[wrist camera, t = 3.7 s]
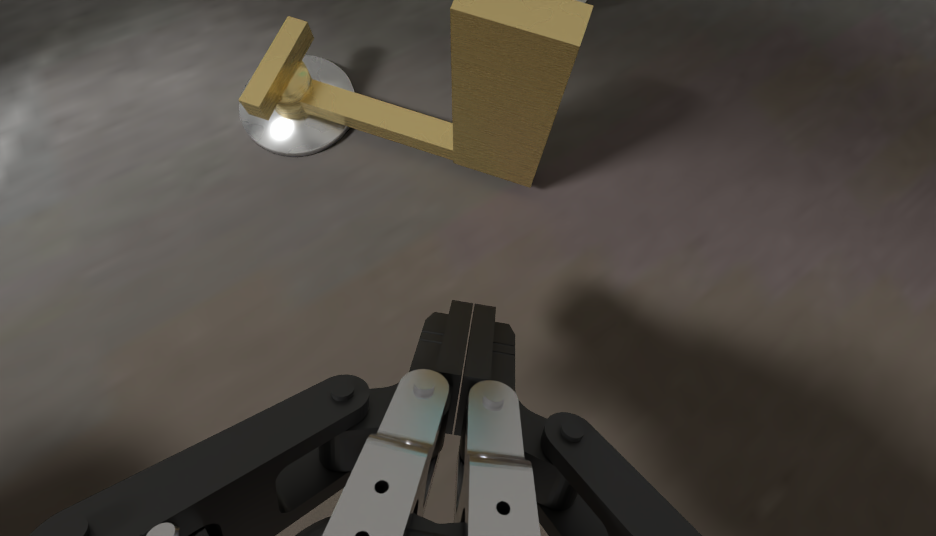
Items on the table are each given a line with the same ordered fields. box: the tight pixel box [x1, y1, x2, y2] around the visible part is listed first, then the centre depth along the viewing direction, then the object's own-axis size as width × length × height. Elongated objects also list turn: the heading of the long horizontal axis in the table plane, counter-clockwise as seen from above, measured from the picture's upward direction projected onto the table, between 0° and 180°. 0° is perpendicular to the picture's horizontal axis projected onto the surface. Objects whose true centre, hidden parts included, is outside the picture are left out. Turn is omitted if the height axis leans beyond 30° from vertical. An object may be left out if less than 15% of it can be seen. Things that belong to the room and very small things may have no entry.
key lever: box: [239, 0, 593, 187], centre depth 18 cm, size 14×5×9 cm, turn 71°
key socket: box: [239, 55, 354, 157], centre depth 23 cm, size 6×6×1 cm
